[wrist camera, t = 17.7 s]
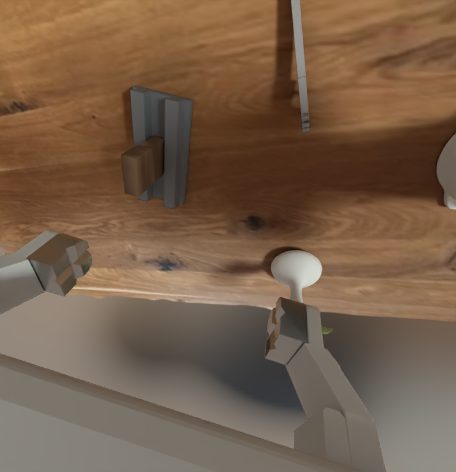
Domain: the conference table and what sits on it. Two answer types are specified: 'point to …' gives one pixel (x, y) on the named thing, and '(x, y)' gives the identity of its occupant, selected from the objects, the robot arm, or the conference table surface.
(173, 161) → the picture ledge
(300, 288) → the flower in vase
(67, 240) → the robot arm
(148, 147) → the wooden picture frame
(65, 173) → the conference table surface
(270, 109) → the conference table surface
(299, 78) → the caliper
